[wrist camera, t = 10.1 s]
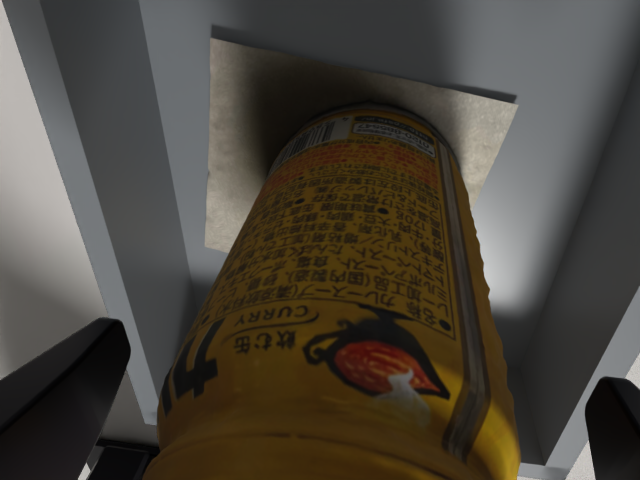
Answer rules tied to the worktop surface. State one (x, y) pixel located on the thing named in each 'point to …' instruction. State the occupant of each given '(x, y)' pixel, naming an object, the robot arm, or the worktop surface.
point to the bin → (396, 61)
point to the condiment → (341, 284)
